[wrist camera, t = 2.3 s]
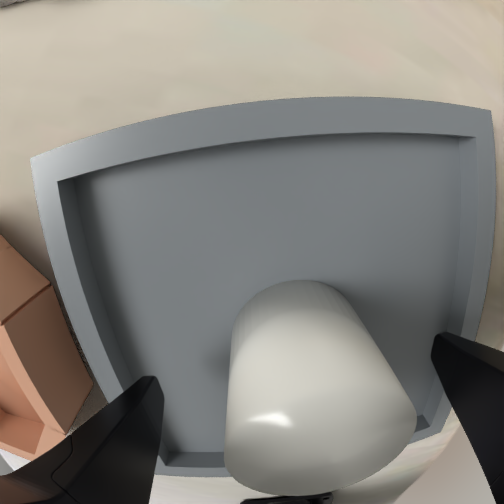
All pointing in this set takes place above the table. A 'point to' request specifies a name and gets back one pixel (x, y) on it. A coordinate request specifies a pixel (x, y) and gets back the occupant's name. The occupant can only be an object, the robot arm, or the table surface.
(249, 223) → the parts tray
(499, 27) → the table surface
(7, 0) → the stone
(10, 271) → the bowl
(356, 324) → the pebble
